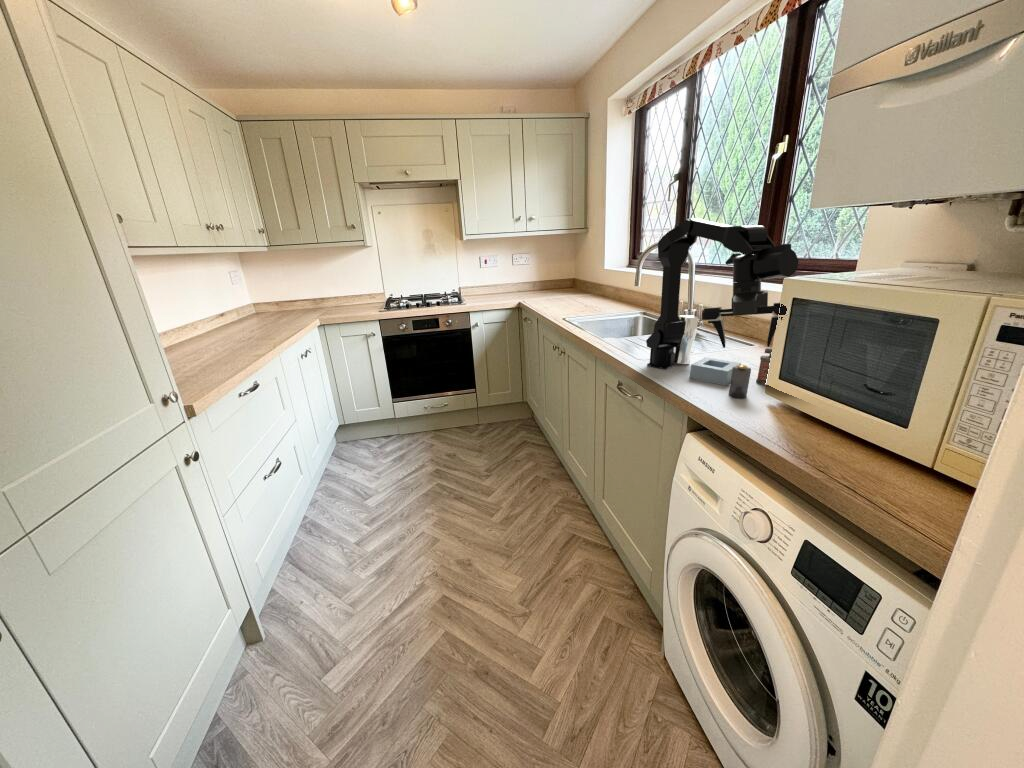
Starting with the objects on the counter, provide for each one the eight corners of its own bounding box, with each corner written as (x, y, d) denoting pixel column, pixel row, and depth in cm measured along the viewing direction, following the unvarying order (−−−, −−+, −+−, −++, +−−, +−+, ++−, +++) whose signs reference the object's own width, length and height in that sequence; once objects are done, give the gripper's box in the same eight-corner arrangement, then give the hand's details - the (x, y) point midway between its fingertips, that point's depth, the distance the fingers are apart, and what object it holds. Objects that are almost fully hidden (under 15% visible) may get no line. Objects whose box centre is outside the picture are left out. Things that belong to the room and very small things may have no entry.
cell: (726, 396, 101) (730, 366, 98) (731, 392, 104) (736, 362, 101) (743, 400, 98) (748, 369, 96) (748, 395, 101) (753, 365, 98)
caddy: (689, 377, 115) (691, 364, 114) (703, 369, 122) (705, 357, 120) (725, 385, 108) (727, 371, 107) (738, 376, 115) (741, 363, 113)
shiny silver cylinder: (687, 360, 132) (695, 315, 128) (693, 365, 125) (702, 318, 121) (666, 359, 133) (672, 314, 129) (671, 363, 126) (678, 317, 122)
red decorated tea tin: (790, 384, 107) (798, 349, 104) (790, 388, 104) (798, 352, 101) (756, 380, 111) (762, 345, 108) (755, 383, 109) (761, 348, 105)
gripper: (698, 285, 91) (698, 352, 94) (797, 275, 81) (794, 350, 84) (704, 286, 101) (704, 346, 103) (794, 276, 90) (791, 344, 93)
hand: (745, 347), depth 96 cm, fingers open, 9 cm apart
